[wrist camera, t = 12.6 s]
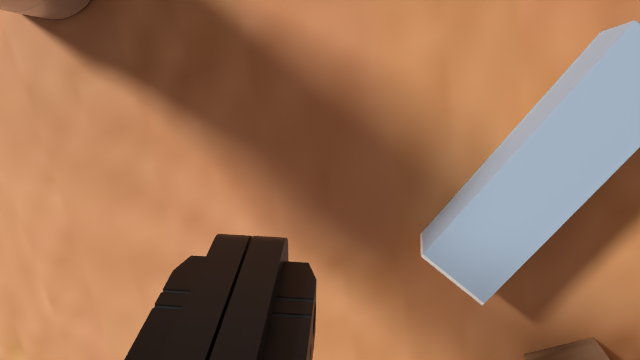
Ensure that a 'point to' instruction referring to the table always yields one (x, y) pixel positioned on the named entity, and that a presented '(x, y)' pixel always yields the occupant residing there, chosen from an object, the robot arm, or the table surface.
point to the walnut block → (571, 352)
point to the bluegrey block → (542, 168)
